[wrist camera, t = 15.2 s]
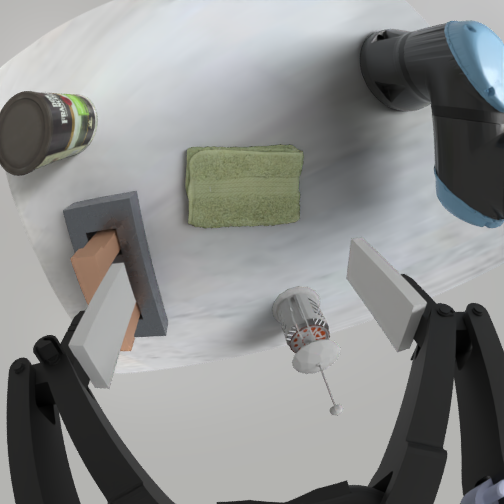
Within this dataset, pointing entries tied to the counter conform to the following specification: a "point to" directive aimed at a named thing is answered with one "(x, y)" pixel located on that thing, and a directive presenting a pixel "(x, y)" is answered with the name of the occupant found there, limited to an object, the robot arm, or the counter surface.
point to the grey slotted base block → (123, 251)
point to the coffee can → (44, 129)
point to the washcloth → (243, 185)
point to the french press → (307, 333)
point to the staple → (101, 273)
